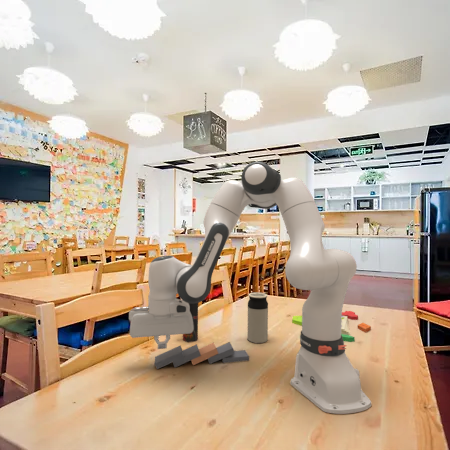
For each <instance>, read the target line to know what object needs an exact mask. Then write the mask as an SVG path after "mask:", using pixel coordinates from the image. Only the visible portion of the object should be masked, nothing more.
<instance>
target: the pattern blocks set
mask: <svg viewBox="0 0 450 450" xmlns="http://www.w3.org/2000/svg"><path fill="white" fill-rule="evenodd" d="M358 318H359V315H358V314H356V312H354V311H353V310H352V311H351V310H345V311H342V321H341V335H342V337H343V341H344V342H347V343H351V342H355V341H356V340H355V336H352V334H351V331H350V326H349V322H348V320H350V321H351V320H352V321H358V320H359V319H358ZM291 320H292V321H291V322H292V324H294V325H297V326H301V327H302V315H293V316H292V317H291ZM357 329H358V330H360V331H362V332H363V333H364V334H365V333H367V332H369V331H371V330H372V326H371V325H369V324H368V323H365V322H360V323H358V324H357Z"/></svg>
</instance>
